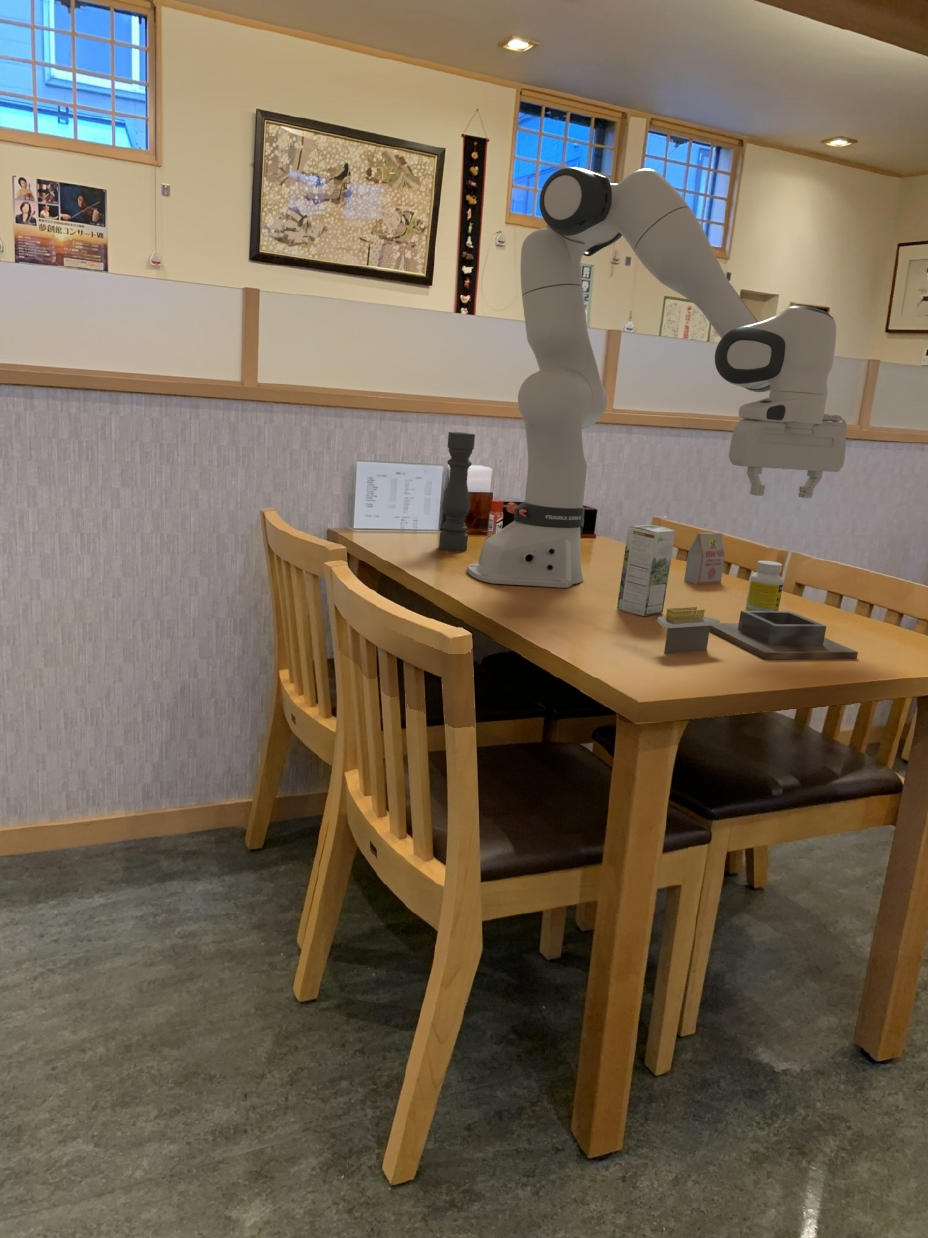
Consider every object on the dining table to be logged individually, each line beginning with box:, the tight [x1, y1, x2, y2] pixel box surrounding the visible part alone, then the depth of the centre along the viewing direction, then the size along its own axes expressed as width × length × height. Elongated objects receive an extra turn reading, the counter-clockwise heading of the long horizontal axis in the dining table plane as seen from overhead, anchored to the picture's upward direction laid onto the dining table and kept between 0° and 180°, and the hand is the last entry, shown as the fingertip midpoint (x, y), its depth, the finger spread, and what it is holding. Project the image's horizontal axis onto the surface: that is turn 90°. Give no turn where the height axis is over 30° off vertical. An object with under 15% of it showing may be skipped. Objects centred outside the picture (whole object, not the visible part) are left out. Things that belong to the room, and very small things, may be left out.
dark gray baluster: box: [438, 431, 476, 552], centre depth 193 cm, size 6×6×25 cm
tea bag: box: [683, 532, 726, 585], centre depth 182 cm, size 4×7×10 cm, turn 123°
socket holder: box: [709, 610, 859, 660], centre depth 138 cm, size 16×16×4 cm
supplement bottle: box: [744, 560, 784, 611], centre depth 153 cm, size 5×5×10 cm
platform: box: [656, 606, 721, 655], centre depth 130 cm, size 12×18×7 cm, turn 118°
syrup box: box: [616, 524, 676, 617], centre depth 150 cm, size 6×6×14 cm
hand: (781, 496), depth 149 cm, fingers open, 8 cm apart
